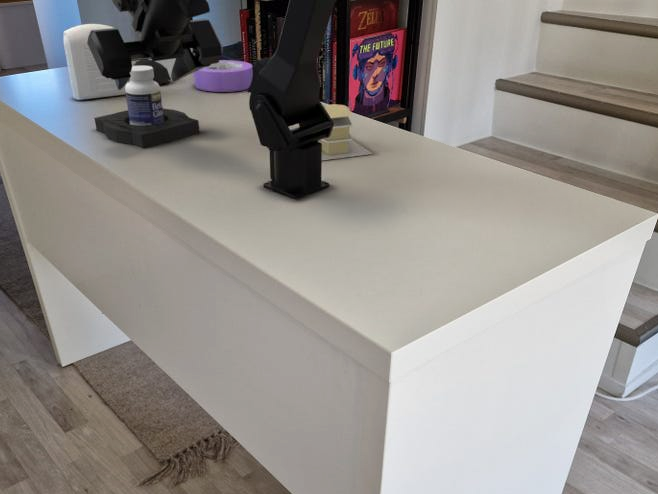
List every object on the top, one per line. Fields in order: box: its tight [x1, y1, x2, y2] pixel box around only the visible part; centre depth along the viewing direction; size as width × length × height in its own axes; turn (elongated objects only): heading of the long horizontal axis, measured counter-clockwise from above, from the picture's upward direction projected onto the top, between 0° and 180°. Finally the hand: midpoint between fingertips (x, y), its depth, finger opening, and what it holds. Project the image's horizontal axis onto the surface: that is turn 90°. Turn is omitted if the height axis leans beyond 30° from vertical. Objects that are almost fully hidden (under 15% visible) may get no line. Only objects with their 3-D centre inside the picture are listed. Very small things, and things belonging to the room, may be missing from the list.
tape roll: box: [193, 59, 253, 93], centre depth 133 cm, size 12×12×4 cm
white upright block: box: [62, 23, 127, 101], centre depth 123 cm, size 10×4×12 cm, turn 123°
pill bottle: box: [125, 65, 164, 126], centre depth 106 cm, size 5×5×10 cm
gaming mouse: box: [132, 59, 172, 85], centre depth 137 cm, size 6×15×4 cm, turn 42°
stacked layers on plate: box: [318, 103, 373, 161], centre depth 101 cm, size 10×9×6 cm
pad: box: [94, 107, 201, 149], centre depth 108 cm, size 13×13×2 cm
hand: (146, 82), depth 103 cm, fingers open, 9 cm apart
